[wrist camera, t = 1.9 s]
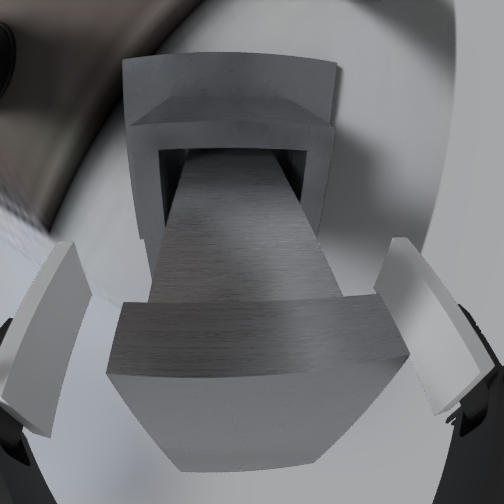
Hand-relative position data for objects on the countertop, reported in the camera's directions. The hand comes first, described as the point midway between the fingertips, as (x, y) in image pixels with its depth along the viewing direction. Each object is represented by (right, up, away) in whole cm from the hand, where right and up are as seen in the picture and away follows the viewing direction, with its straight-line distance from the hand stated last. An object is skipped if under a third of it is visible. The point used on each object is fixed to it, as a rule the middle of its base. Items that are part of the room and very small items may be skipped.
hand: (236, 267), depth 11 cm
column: (-1, +8, +11) cm, 14 cm away
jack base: (-1, +9, +12) cm, 15 cm away
